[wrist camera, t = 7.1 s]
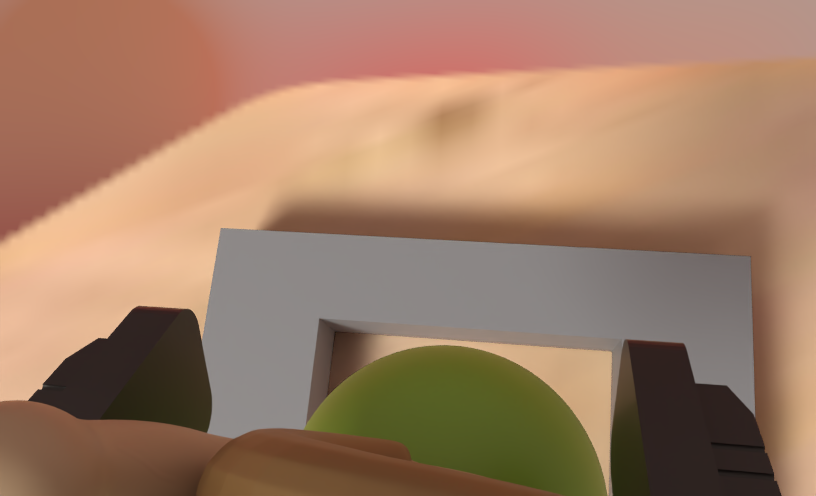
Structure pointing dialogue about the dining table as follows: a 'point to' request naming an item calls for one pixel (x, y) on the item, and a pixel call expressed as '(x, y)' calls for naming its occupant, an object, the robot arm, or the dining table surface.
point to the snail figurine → (329, 441)
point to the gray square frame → (452, 310)
